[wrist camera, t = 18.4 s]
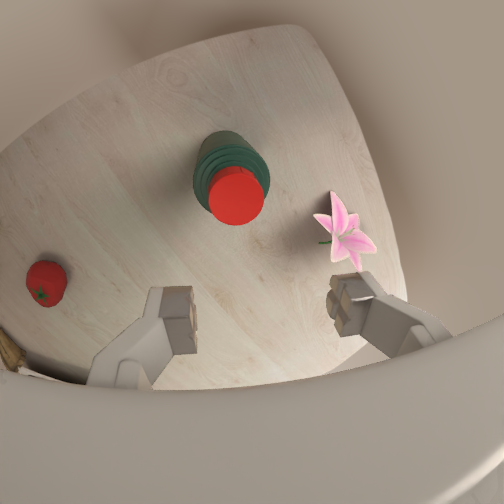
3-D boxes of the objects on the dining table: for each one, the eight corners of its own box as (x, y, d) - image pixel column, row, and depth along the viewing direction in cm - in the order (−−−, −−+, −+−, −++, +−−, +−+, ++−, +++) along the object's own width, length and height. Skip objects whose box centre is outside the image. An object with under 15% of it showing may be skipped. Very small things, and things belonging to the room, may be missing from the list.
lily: (362, 243, 46) (400, 243, 37) (317, 287, 44) (353, 297, 34) (327, 186, 44) (362, 174, 35) (276, 227, 41) (306, 222, 32)
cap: (207, 167, 20) (207, 174, 18) (259, 165, 20) (264, 172, 18) (210, 214, 22) (210, 227, 20) (258, 211, 22) (263, 224, 20)
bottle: (198, 131, 33) (185, 155, 17) (249, 130, 33) (283, 152, 18) (200, 179, 36) (193, 242, 20) (249, 177, 37) (279, 237, 21)
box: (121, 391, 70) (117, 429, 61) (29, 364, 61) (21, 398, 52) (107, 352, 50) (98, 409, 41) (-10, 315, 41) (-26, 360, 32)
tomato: (72, 262, 39) (56, 287, 33) (71, 296, 42) (57, 322, 36) (36, 248, 36) (17, 270, 30) (37, 282, 40) (21, 306, 33)
